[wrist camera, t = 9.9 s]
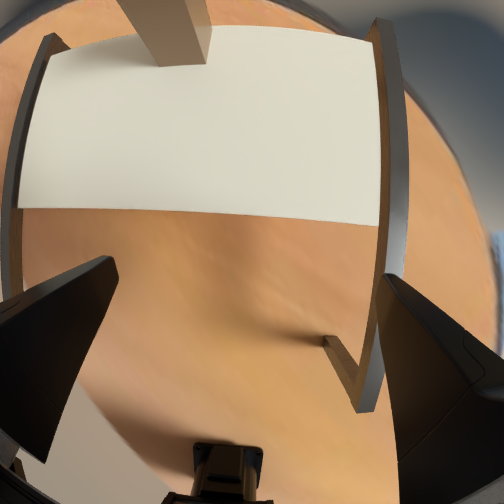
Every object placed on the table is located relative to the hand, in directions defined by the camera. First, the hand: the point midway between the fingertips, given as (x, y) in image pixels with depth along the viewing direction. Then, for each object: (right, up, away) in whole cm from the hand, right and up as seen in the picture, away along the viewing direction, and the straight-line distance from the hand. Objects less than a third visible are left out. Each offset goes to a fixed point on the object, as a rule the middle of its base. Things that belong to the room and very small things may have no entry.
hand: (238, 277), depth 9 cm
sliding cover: (-3, +8, +4) cm, 9 cm away
